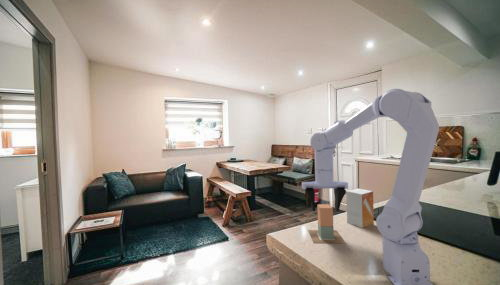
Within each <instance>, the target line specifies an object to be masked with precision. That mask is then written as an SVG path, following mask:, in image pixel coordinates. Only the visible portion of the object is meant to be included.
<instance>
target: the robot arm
mask: <svg viewBox="0 0 500 285" xmlns="http://www.w3.org/2000/svg"><path fill="white" fill-rule="evenodd" d="M435 115H436V114H435V112H434V110H433V108H432V101H431V100H430V99H429V98H428V97H426V96H425V95H424V94H422V93H420V92H417V91H410V90H409V91H408V90H404V89H401V88H392V89H389V90H387V91H386V92H384V93H383V94H381V95H379V96H376V98H375V99H374V100H373V101H372V102H371V103H369V104H368V105H367V106H365V107H364V108H362V109H361V110H359V111H358V112H357V113H355V114H354V115H353V116H351V117H350V118H349V119H347V120H344V119H341V120H335V121H334V122H333V124H332V125H331V126H329V127H328V128H324V129H323V130H322V132H315V133H314V134H313V135H312V136H311V138H310V142H309V143H310V147H311V148H312V149H313V150H314V177H315V178H314V179H315V181H303V182H301V188H302V190H304V191H305V192H306V194H307V197H308V200H309V203H310V205H311V211H312V212H316V202H315V201H316V200H315V198H316V197H315V196H316V191H315V189H320V190H321V189H333V193H334V210H335V211H336V212H340V209H341V208H340V207H341V203H342V201H343V200H344V196H345V195H346V191H347V190H348V189H349V182H347V181H336V180H335V179H334V154H335V152H334V151H335V148H336V146H337V145H338V144H340V143H342V142H343V141H346V140H347V139H349V138H351V137H352V136H353V134H354V131H356V129H359V128H361V127H363V126H365V125H366V124H369V123H371V122H373V121H374V120H377V119H379V118H390V119H392V120H393V121H395V122H396V123H398V124H399V125H400V127H401V128H402V129H404V131H405V132H406V137H405V141H404V145H403V148H402V149H403V150H402V152H401V157H400V160H399V165H398V169H397V173H396V177H395V181H394V184H393V188H392V193H391V196H390V198H388V201H387V202H386V203H385V204H384V206H383V209H382V211H381V212H380V214H378V216H377V217H376V220H375V223H376V228H377V230H378V231H379V233H380V234H381V238H382V240H381V242H382V267H383V269H384V271H385V272H387V274H385V276H386V277H387V278H388V279H389V281H390V282H392V284H393V285H434V284H433V283H431V268H430V267H431V266H430V258H429V256H428V255H427V253H426V252H425V251H424V250H423V249H422V248H421V246H420V241H419V235H418V231H420V230H421V229H422V227H423V224H424V222H423V219H422V214H421V213H422V209H423V207H422V206H421V204H420V199H421V195H422V192H423V188H424V185H425V181H426V177H427V175H428V171H429V168H430V163H431V160H432V157H433V153H434V149H435V146H436V142H437V138H438V135H439V131H440V124H439V122H438V120H437V118H436V116H435ZM334 180H335V181H334ZM346 189H347V190H346Z"/></svg>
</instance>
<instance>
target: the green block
mask: <svg viewBox="0 0 500 285" xmlns="http://www.w3.org/2000/svg"><path fill="white" fill-rule="evenodd" d="M317 230H318V234H319V236H320V238H321V239H334V226H333V227H324V226H320V225H319V223H318V222H317Z"/></svg>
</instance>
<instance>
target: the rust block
mask: <svg viewBox="0 0 500 285" xmlns="http://www.w3.org/2000/svg"><path fill="white" fill-rule="evenodd" d="M316 207H317V209H316V210H317V224H318V223H319V225H320V226H324V227H333V228H334V207H332V206H331V204H329V203H326V204H322V203H321V204H320V203H319V204H317V206H316Z"/></svg>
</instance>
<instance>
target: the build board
mask: <svg viewBox="0 0 500 285" xmlns="http://www.w3.org/2000/svg"><path fill="white" fill-rule="evenodd" d="M307 232H308V234H309V235H310V236H309V237H310V238H311V241H312V243H313V244H319V245H320V244H322V245H325V244H326V245H332V244H333V245H347V242H346V241H345V239H344V238H343V237H342V235H341V234H340V232H339V231H337V229H335V230H334V239H321V238H320V236H319V234H318V229H317V230H316V229H307Z"/></svg>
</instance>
